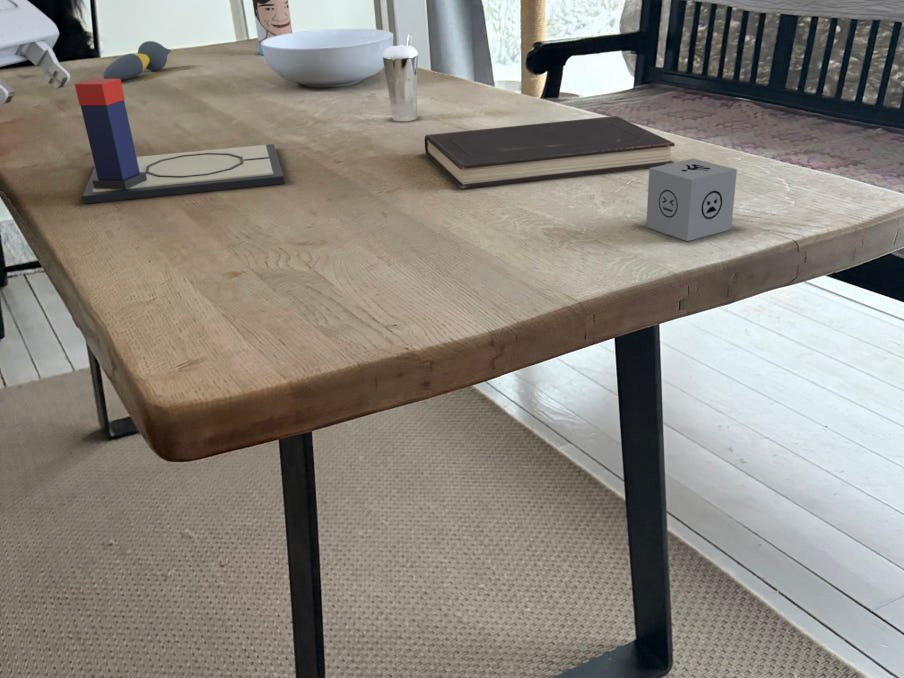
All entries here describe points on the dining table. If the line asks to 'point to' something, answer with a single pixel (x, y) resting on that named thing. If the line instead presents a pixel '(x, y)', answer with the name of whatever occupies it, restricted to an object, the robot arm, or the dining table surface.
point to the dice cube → (690, 198)
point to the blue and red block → (109, 134)
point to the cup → (271, 19)
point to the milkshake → (402, 80)
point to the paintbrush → (138, 62)
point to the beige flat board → (196, 173)
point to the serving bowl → (327, 55)
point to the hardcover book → (545, 151)
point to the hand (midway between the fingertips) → (37, 91)
